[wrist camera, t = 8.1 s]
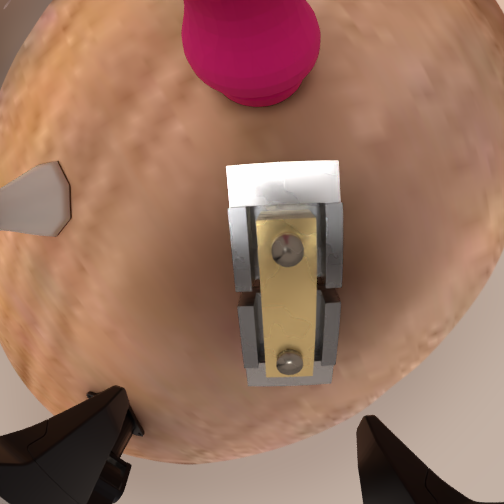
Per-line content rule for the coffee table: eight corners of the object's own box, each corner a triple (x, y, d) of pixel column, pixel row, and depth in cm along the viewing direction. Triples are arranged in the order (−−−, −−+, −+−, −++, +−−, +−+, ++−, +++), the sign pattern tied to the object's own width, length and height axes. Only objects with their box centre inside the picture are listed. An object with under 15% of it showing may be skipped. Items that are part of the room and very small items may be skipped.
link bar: (260, 211, 17) (254, 222, 13) (308, 209, 17) (317, 219, 13) (268, 347, 20) (265, 383, 16) (309, 345, 19) (313, 381, 15)
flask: (63, 147, 18) (-28, 149, 8) (81, 224, 20) (-10, 258, 10) (23, 179, 19) (-53, 193, 10) (38, 245, 21) (-35, 278, 11)
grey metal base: (327, 364, 21) (332, 388, 18) (251, 367, 21) (247, 391, 19) (330, 162, 17) (340, 160, 14) (233, 167, 17) (224, 165, 14)
